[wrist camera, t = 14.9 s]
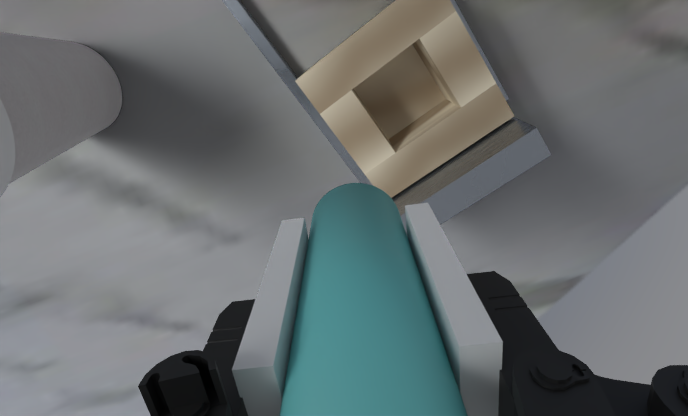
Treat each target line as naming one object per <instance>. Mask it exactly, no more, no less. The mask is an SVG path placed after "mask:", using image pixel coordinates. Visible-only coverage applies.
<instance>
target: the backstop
mask: <svg viewBox="0 0 688 416" xmlns="http://www.w3.org/2000/svg"><path fill="white" fill-rule="evenodd" d="M222 1H223V2H224V3H225V5H226V6H227V7H228V9H229V10H230V11H231V13H232V14H233V15H234V17H235V18H236V19H237V21H238V22H239V23H240V24H241V26H242V27H243V28H244V30H245V31H246V32H247V34H248V35H249V36H250V38H251V39H252V40H253V42H254V43H255V44H256V46H257V47H258V48H259V50H260V51H261V52H262V53H263V55H264V56H265V57H266V59H267V60H268V61H269V63H270V64H271V65H272V67H273V68H274V69H275V71H276V72H277V73H278V75H279V76H280V77H281V79H282V80H283V81H284V83H285V84H286V85H287V86H288V88H289V89H290V90H291V92H292V93H293V94H294V96H295V97H296V98H297V100H298V101H299V102H300V104H301V105H302V106H303V108H304V109H305V110H306V112H307V113H308V114H309V115H310V117H311V118H312V119H313V121H314V122H315V123H316V125H317V126H318V127H319V129H320V130H321V131H322V133H323V134H324V135H325V137H326V138H327V139H328V141H329V142H330V143H331V144H332V146H333V147H334V148H335V150H336V151H337V152H338V154H339V155H340V156H341V158H342V159H343V160H344V162H345V163H346V164H347V166H348V167H349V168H350V170H351V171H352V172H353V174H354V175H355V176H356V177H357V179H358V180H359V181H360V183H364V184H369V185H372V183H371V182H370V181H369V179H368V178H367V177H366V175H365V174H364V173H363V171H362V170H361V169H360V167H359V166H358V165H357V163H356V162H355V161H354V159H353V158H352V157H351V155H350V154H349V153H348V151H347V150H346V149H345V147H344V146H343V145H342V143H341V142H340V141H339V139H338V138H337V137H336V135H335V134H334V133H333V131H332V130H331V129H330V127H329V126H328V125H327V123H326V122H325V121H324V119H323V118H322V117H321V115H320V114H319V112H318V111H317V110H316V108H315V107H314V106H313V104H312V103H311V102H310V100H309V99H308V98H307V96H306V95H305V94H304V92H303V91H302V90H301V88H300V87H299V86H298V84H297V83H296V82H295V81H296V80H297V79H298V78H297V76H296V75H295V73H294V72H293V71H292V69H291V68H290V67H289V65H288V64H287V63H286V61H285V60H284V59H283V57H282V56H281V55H280V53H279V52H278V51H277V49H276V48H275V47H274V45H273V44H272V42H271V41H270V40H269V38H268V37H267V36H266V34H265V33H264V32H263V30H262V29H261V28H260V26H259V25H258V24H257V22H256V21H255V20H254V18H253V17H252V16H251V14H250V13H249V12H248V10H247V9H246V7H245V6H244V5H243V3H242V2H241V1H240V0H222ZM450 1H451V3H452V5H453V6H454V8H455V10H456V12H457V14H458V15H459V17H460V19H461V21H462V23H463V24H464V26H465V28H466V30H467V32H468V33H469V35H470V37H471V39H472V41H473V42H474V44H475V46H476V48H477V50H478V51H479V53H480V55H481V57H482V58H483V60H484V62H485V64H486V66H487V67H488V69H489V71H490V73H491V75H492V76H493V78H494V80H495V82H496V84H497V85H498V87H499V89H500V91H501V93H502V94H503V96H504V98H505V100H506V101H507V100H508V99H509V98H508V96H507V94H506V92H505V90H504V89H503V87H502V85H501V83H500V81H499V80H498V78H497V76H496V74H495V72H494V71H493V69H492V67H491V65H490V63H489V62H488V60H487V58H486V56H485V54H484V52H483V51H482V49H481V47H480V45H479V43H478V42H477V40H476V38H475V36H474V34H473V33H472V31H471V29H470V27H469V25H468V24H467V22H466V20H465V18H464V16H463V15H462V13H461V11H460V9H459V7H458V6H457V4H456V2H455V0H450ZM549 156H551V153H550V151H549V149H548V147H547V146H546V144H545V142H544V140H543V138H542V136H541V135H540V133H539V131H538V129H537V128H536V127H534V126H532V125H530V124H527V123H525V122H523V121H521V120H518V119H516V118H514V117H512V118H511V119H509V120H508V121H506V122H505V123H503V124H502V125H500V126H499V127H497V128H496V129H494V130H493V131H491V132H490V133H488V134H487V135H485V136H484V137H482V138H481V139H479V140H478V141H476V142H475V143H473V144H472V145H470V146H469V147H467V148H466V149H464V150H463V151H461V152H460V153H458V154H457V155H455V156H454V157H452V158H451V159H449V160H448V161H446V162H445V163H443V164H442V165H440V166H439V167H437V168H436V169H434V170H433V171H431V172H429V173H428V174H426V175H425V176H423V177H422V178H420V179H419V180H417V181H416V182H414V183H413V184H411V185H410V186H408V187H407V188H405V189H404V190H402V191H401V192H399V193H398V194H396V195H395V196H393V197H392V200H393V201H394V202H395V204H396V206H397V208H398V210H399V213H400V216H401V219H402V222H403V225H404V228H405V231H406V234H407V227H406V214H405V205H413V204H421V203H428V204H429V205H430V207H431V209H432V211H433V213H434V215H435V217H436V218H437V220H438V222H439V224H442V223H444V222H445V221H447V220H448V219H450V218H452V217H453V216H455V215H456V214H458V213H460V212H461V211H463V210H464V209H466V208H468V207H469V206H471V205H472V204H474V203H476V202H477V201H479V200H480V199H482V198H483V197H485V196H487V195H488V194H490V193H491V192H493V191H495V190H496V189H498V188H499V187H501V186H503V185H504V184H506V183H507V182H509V181H511V180H512V179H514V178H515V177H517V176H519V175H520V174H522V173H523V172H525V171H527V170H528V169H530V168H531V167H533V166H535V165H536V164H538V163H539V162H541V161H543V160H544V159H546V158H547V157H549ZM372 186H373V185H372Z"/></svg>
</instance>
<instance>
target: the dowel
mask: <svg viewBox="0 0 688 416" xmlns="http://www.w3.org/2000/svg"><path fill="white" fill-rule="evenodd" d="M279 416H468V415H467V412H466V409H465V406H464V403H463V400H462V397H461V394H460V391H459V388H458V385H457V382H456V379H455V376H454V373H453V370H452V367H451V364H450V361H449V358H448V356H447V353H446V350H445V347H444V344H443V341H442V338H441V335H440V332H439V329H438V326H437V323H436V320H435V317H434V314H433V311H432V308H431V305H430V302H429V299H428V296H427V293H426V290H425V287H424V284H423V281H422V279H421V276H420V273H419V270H418V267H417V264H416V261H415V258H414V255H413V252H412V249H411V246H410V243H409V240H408V237H407V234H406V231H405V228H404V225H403V222H402V219H401V216H400V213H399V210H398V208H397V206H396V204H395V202H394V201H393V200H392V198H391V197H390V196H389V195H388V194H387V193H385V192H384V191H382V190H381V189H379V188H377V187H375V186H372V185H369V184H364V183H350V184H345V185H341V186H339V187H336V188H334V189H333V190H331V191H329V192H328V193H327V194H326V195H324V196H323V198H322V199H321V200H320V201H319V203H318V204H317V206H316V208H315V210H314V213H313V217H312V223H311V229H310V235H309V241H308V247H307V253H306V259H305V265H304V271H303V277H302V283H301V289H300V295H299V301H298V307H297V313H296V319H295V325H294V331H293V337H292V343H291V349H290V355H289V361H288V367H287V373H286V379H285V385H284V391H283V397H282V402H281V408H280V414H279Z"/></svg>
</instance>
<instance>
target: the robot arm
mask: <svg viewBox="0 0 688 416" xmlns="http://www.w3.org/2000/svg"><path fill="white" fill-rule="evenodd" d="M405 214H406V227H407V237H408V240H409V243H410V246H411V249H412V252H413V255H414V258H415V261H416V264H417V267H418V270H419V273H420V276H421V279H422V281H423V284H424V287H425V290H426V293H427V296H428V299H429V302H430V305H431V308H432V311H433V314H434V317H435V320H436V323H437V326H438V329H439V332H440V335H441V338H442V341H443V344H444V347H445V350H446V353H447V356H448V358H449V361H450V364H451V367H452V370H453V373H454V376H455V379H456V382H457V385H458V388H459V391H460V394H461V397H462V400H463V403H464V406H465V409H466V412H467V415H468V416H688V366H687V365H673V366H671V365H670V366H667V367H665V368H662V369H659V370H658V371H657V372H656V374H655V376H654V377H653V378H652V382H651V385H647V384H640V383H633V382H627V381H620V380H613V379H609V378H604V377H600V376H597V375H594V374H593V372H592V371H591V370H590V369H589V367H588V366H587V365H586V364H584V363H583V362H581V361H580V360H578V359H577V358H575V357H574V356H572V355H570V354H567V353H564V352H561V351H559V350H558V349H557V347H556V346H555V344H554V343H553V342H552V340H551V339H550V337H549V336H548V335H547V333H546V332H545V330H544V329H543V327H542V326H541V325H540V323H539V322H538V320H537V319H536V317H535V316H534V315H533V313H532V312H531V310H530V309H529V308H527V305H526V303H525V302H524V300H523V299H522V298H521V297H520V296H519V293H518V292H517V290H516V289H515V288H514V286H513V285H512V283H511V282H510V281H509V280H507V279H506V278H504V277H503V276H501V275H499V274H498V273H496V272H495V271H492V272H483V273H474V274H466V272H465V271H464V269H463V267H462V265H461V263H460V261H459V259H458V258H457V256H456V254H455V252H454V250H453V248H452V246H451V245H450V243H449V241H448V239H447V237H446V235H445V233H444V231H443V230H442V228H441V226H440V224H439V222H438V220H437V218H436V217H435V215H434V213H433V211H432V209H431V207H430V205H429V204H428V203H421V204H413V205H405ZM308 241H309V240H308V234H307V229H306V223H305V218H296V219H288V220H282V222H281V225H280V227H279V230H278V233H277V236H276V239H275V242H274V245H273V248H272V251H271V254H270V257H269V260H268V263H267V266H266V269H265V272H264V275H263V278H262V281H261V284H260V287H259V290H258V293H257V296H256V299H253V300H244V301H235V302H232V303H231V304H230V305H229V306H228V307H227V308H226V309H225V310H224V311H223V312H222V313H221V314H220V315H219V316H218V319H217V321H216V323H215V325H214V328H213V332H211V334H210V337H209V339H208V341H207V342H208V344H206V345H205V348H204V350H203V351H199V350H194V351H184V352H181V353H178V354H175V355H172V356H170V357H168V358H167V359H165V360H163V361H161V362H160V363H158V364H156V365H155V366H154V367H153V368H152V369H151V370H150V371H149V372H148V373H147V374H146V375H145V376H144V378H143V379H142V381H141V382H140V384H139V386H138V387H139V389H140V392H141V394H142V396H143V399H144V401H145V403H146V406H147V408H148V410H149V412H150V415H151V416H279V414H280V408H281V402H282V397H283V391H284V385H285V379H286V373H287V367H288V361H289V355H290V349H291V343H292V337H293V331H294V325H295V319H296V313H297V307H298V301H299V295H300V289H301V283H302V277H303V271H304V265H305V259H306V253H307V247H308Z"/></svg>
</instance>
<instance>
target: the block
mask: <svg viewBox="0 0 688 416" xmlns="http://www.w3.org/2000/svg"><path fill="white" fill-rule="evenodd" d="M295 82H296V83H297V84H298V86H299V87H300V88H301V90H302V91H303V92H304V94H305V95H306V96H307V98H308V99H309V100H310V102H311V103H312V104H313V106H314V107H315V108H316V110H317V111H318V112H319V114H320V115H321V117H322V118H323V119H324V121H325V122H326V123H327V125H328V126H329V127H330V129H331V130H332V131H333V133H334V134H335V135H336V137H337V138H338V139H339V141H340V142H341V143H342V145H343V146H344V147H345V149H346V150H347V151H348V153H349V154H350V155H351V157H352V158H353V159H354V161H355V162H356V163H357V165H358V166H359V167H360V169H361V170H362V171H363V173H364V174H365V175H366V177H367V178H368V179H369V181H370V182H371V183H372V185H373V186H375V187H377V188H379V189H381V190H382V191H384V192H385V193H387V194H388V195H389V196H390V197H391V198H392V197H393V196H395V195H396V194H398V193H399V192H401V191H402V190H404V189H405V188H407V187H408V186H410V185H411V184H413V183H414V182H416V181H417V180H419V179H420V178H422V177H423V176H425V175H426V174H428V173H429V172H431V171H433V170H434V169H436V168H437V167H439V166H440V165H442V164H443V163H445V162H446V161H448V160H449V159H451V158H452V157H454V156H455V155H457V154H458V153H460V152H461V151H463V150H464V149H466V148H467V147H469V146H470V145H472V144H473V143H475V142H476V141H478V140H479V139H481V138H482V137H484V136H485V135H487V134H488V133H490V132H491V131H493V130H494V129H496V128H497V127H499V126H500V125H502V124H503V123H505V122H506V121H508V120H509V119H511V118H512V117H514V114H513V112H512V111H511V109H510V107H509V105H508V103H507V102H506V100H505V98H504V96H503V94H502V93H501V91H500V89H499V87H498V85H497V84H496V82H495V80H494V78H493V76H492V75H491V73H490V71H489V69H488V67H487V66H486V64H485V62H484V60H483V58H482V57H481V55H480V53H479V51H478V50H477V48H476V46H475V44H474V42H473V41H472V39H471V37H470V35H469V33H468V32H467V30H466V28H465V26H464V24H463V23H462V21H461V19H460V17H459V15H458V14H457V12H456V10H455V8H454V6H453V5H452V3H451V1H450V0H395V1H394V2H393V3H391V4H390V5H389V6H388V7H386V8H385V9H384V10H383V11H381V12H380V13H379V14H378V15H376V16H375V17H374V18H373V19H371V20H370V21H369V22H368V23H366V24H365V25H364V26H362V27H361V28H360V29H359V30H357V31H356V32H355V33H354V34H352V35H351V36H350V37H349V38H347V39H346V40H345V41H344V42H342V43H341V44H340V45H339V46H337V47H336V48H335V49H333V50H332V51H331V52H330V53H328V54H327V55H326V56H325V57H323V58H322V59H321V60H320V61H318V62H317V63H316V64H315V65H313V66H312V67H311V68H310V69H308V70H307V71H306V72H304V73H303V74H302V75H301V76H300V77H299V78H298V79H297V80H296V81H295Z"/></svg>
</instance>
